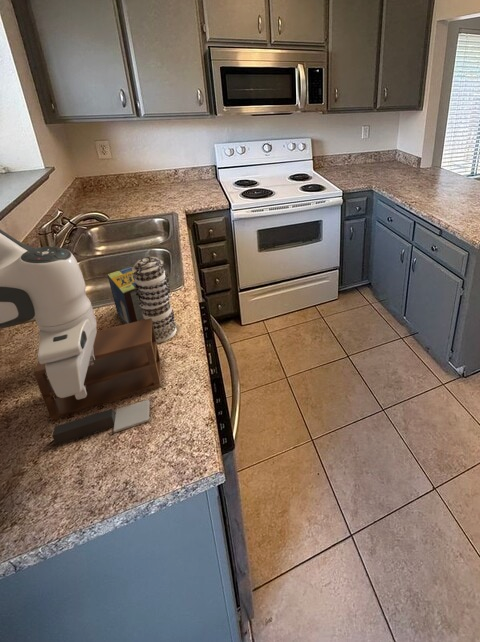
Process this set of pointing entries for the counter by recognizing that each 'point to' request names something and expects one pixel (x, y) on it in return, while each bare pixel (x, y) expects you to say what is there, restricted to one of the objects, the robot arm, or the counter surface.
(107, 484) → the counter surface
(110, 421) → the spatula
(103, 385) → the box
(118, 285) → the protein box
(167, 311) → the decorative candle
